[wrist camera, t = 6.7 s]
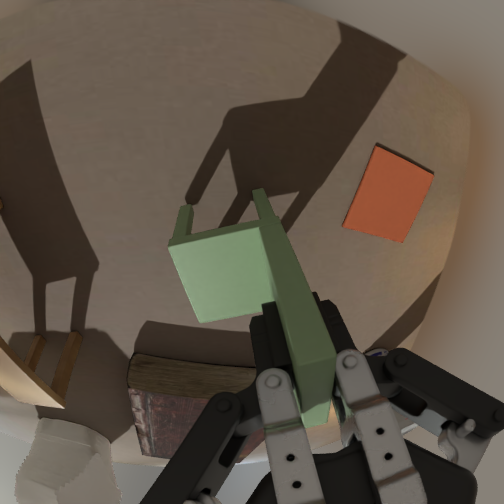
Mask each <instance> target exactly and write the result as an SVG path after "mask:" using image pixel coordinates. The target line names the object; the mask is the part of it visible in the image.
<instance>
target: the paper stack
mask: <svg viewBox="0 0 504 504" xmlns="http://www.w3.org/2000/svg"><path fill="white" fill-rule="evenodd" d="M117 487H118V486H117V483H116V478H115V475H114V471H113V466H112V457H111V446H110V441H109V440H108V439H107V438H105V437H104V436H102V435H101V434H100V433H98V432H97V431H95V430H92V429H90V428H88V427H86V426H83V425H80V424H76V423H72V422H68V421H64V420H59V419H49V418H45V417H43V418H41V419H40V421H39V423H38V426H37V429H36V432H35V439H34V441H33V444H32V446H31V450H30V452H29V456H27V457H26V460H25V459H24V463H22V466H21V467H20V470H18V474H16V485H15V496H16V497H17V502H19V504H120V503H119V502H120V501H119V500H121V496H123V495H122V493H121V490H120V489H118V488H117Z"/></svg>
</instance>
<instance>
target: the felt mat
mask: <svg viewBox="0 0 504 504" xmlns="http://www.w3.org/2000/svg"><path fill="white" fill-rule="evenodd" d="M433 178H434V175H432V174H431V173H429V172H427V171H425V170H423V169H422V168H420V167H418V166H416V165H414V164H412V163H410V162H408V161H406V160H405V159H403V158H401V157H399V156H397V155H395V154H392V153H390V152H388V151H386V150H384V149H382V148H380V147H378V146H375V147H374V150H373V152H372V155H371V157H370V160H369V162H368V165H367V168H366V170H365V173H364V175H363V177H362V180H361V182H360V185H359V187H358V190H357V192H356V194H355V197H354V199H353V201H352V204H351V206H350V208H349V211H348V213H347V215H346V218H345V220H344V222H343V224H342V227H345V228H349V229H353V230H357V231H360V232H364V233H368V234H372V235H375V236H379V237H383V238H386V239H390V240H394V241H397V242H401V243H403V241H404V239H405V237H406V235H407V233H408V232H409V230H410V228H411V226H412V224H413V222H414V220H415V218H416V215H417V213H418V211H419V209H420V207H421V205H422V203H423V201H424V198H425V196H426V194H427V192H428V190H429V187H430V185H431V183H432V180H433Z"/></svg>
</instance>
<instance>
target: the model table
mask: <svg viewBox="0 0 504 504" xmlns="http://www.w3.org/2000/svg"><path fill="white" fill-rule="evenodd" d="M3 207H4V206H3V204H2V201H1V199H0V210H1V209H2V208H3ZM82 339H83V338H82V337H81V335H80V334H79V333H78V331H76V332H70V333H69V336H68V339H67V341H66V344H65V347H64V349H63V352H62V355H61V358H60V360H59V363H58V366H57V369H56V372H55V375H54V378H53V382H52V385H51V388H50V387H48V386H47V385H46V384H45V383H44V382H43V381H42V380H41V379H40V378H39V377H38V376H37V375H36V374H35V373H34V372H35V369H36V366H37V364H38V361H39V359H40V356H41V353H42V351H43V348H44V346H45V344H46V340H45V339H44V338H43V337H42V336H41V335H36V336H35V338H34V340H33V342H32V344H31V347H30V349H29V351H28V354H27V356H26V359H25V361H24V362H23V361H22V360H21V359H20V358H19V357H18V356H17V355H16V354H15V352H14V351H13V350H12V349H11V348H10V347H9V346H8V345H7V343H6V342H5V341H4V340H3V339H2V337H1V336H0V385H1V386H2V387H3V388H4V389H5V390H6V391H7V392H8V393H9V394H10V395H12V396H13V397H14V398H15V399H16V400H17V401H19V402H23V403H28V404H34V405H41V406H48V407H55V408H64V409H65V406H66V401H65V400H64V399H65V395H66V391H67V388H68V384H69V380H70V377H71V373H72V370H73V367H74V364H75V360H76V357H77V354H78V351H79V348H80V345H81V342H82Z"/></svg>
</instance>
